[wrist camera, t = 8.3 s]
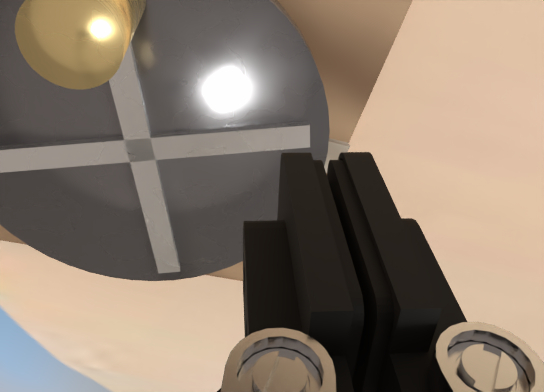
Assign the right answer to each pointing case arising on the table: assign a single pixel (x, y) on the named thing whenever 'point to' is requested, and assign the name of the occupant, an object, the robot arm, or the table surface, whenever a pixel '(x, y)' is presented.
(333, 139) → the valve base
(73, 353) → the table surface
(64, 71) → the handwheel
